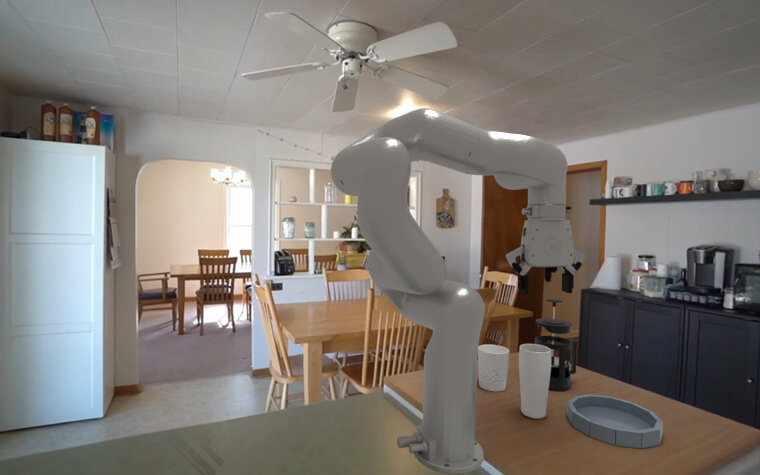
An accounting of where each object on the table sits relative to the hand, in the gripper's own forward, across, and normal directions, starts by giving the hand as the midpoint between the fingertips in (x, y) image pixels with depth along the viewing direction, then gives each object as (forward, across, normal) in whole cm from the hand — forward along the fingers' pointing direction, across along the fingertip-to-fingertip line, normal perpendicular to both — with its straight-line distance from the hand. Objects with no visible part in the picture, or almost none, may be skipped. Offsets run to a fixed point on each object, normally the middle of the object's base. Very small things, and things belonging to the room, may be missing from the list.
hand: (545, 292), depth 87 cm
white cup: (+28, -6, +17) cm, 33 cm away
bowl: (+28, +13, -4) cm, 31 cm away
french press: (+29, +12, +18) cm, 36 cm away
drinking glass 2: (+28, -2, +2) cm, 28 cm away
